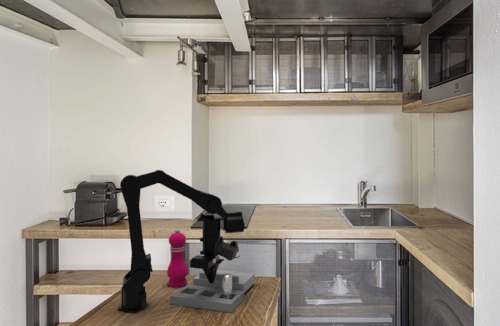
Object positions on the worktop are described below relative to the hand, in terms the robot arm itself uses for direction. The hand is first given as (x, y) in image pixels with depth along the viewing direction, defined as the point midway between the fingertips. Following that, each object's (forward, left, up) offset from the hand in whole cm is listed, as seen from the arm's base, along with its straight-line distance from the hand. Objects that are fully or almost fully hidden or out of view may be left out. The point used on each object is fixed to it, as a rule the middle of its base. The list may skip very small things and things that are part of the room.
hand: (211, 283), depth 114 cm
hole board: (0, -3, -5) cm, 6 cm away
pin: (+6, -3, -5) cm, 9 cm away
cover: (0, +10, -5) cm, 11 cm away
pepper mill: (-17, +8, -5) cm, 19 cm away
